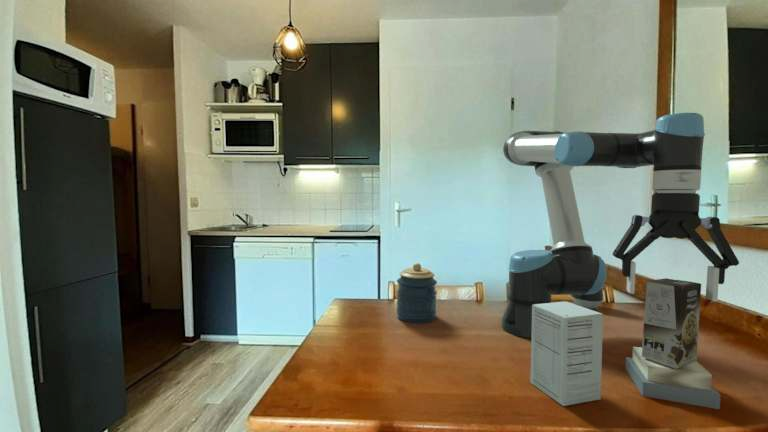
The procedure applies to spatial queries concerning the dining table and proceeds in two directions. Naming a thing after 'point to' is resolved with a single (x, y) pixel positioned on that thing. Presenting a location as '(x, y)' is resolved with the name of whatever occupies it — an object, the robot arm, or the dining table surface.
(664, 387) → the grey base slab
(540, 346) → the supplement box
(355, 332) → the dining table surface
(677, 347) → the coffee box
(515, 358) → the dining table surface
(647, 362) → the birch top slab
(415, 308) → the canister
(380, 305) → the dining table surface
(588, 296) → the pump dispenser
